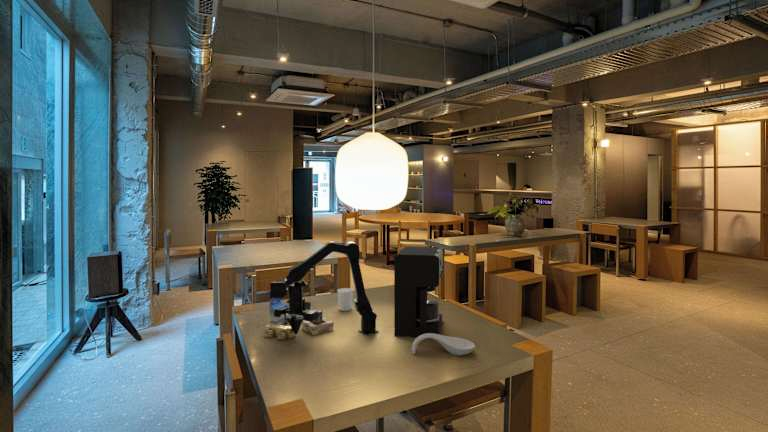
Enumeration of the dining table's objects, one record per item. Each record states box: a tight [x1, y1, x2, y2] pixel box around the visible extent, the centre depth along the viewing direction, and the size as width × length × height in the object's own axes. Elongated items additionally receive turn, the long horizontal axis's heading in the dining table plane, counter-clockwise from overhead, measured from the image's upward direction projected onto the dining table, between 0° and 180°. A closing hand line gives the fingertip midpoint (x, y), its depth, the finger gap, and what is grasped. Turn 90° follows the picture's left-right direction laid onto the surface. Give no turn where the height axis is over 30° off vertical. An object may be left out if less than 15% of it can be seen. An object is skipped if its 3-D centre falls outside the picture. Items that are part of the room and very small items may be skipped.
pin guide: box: [264, 329, 287, 340], centre depth 169 cm, size 9×7×3 cm
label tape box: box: [268, 298, 288, 326], centre depth 182 cm, size 9×4×12 cm, turn 161°
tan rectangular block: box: [264, 323, 297, 339], centre depth 169 cm, size 13×4×4 cm, turn 68°
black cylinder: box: [313, 309, 324, 325], centre depth 176 cm, size 4×4×8 cm
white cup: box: [337, 287, 354, 312], centre depth 206 cm, size 8×8×10 cm
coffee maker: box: [393, 246, 445, 340], centre depth 175 cm, size 28×20×35 cm
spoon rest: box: [411, 333, 476, 357], centre depth 151 cm, size 24×12×7 cm, turn 92°
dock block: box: [301, 317, 334, 336], centre depth 176 cm, size 10×10×4 cm
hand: (296, 334), depth 166 cm, fingers closed
